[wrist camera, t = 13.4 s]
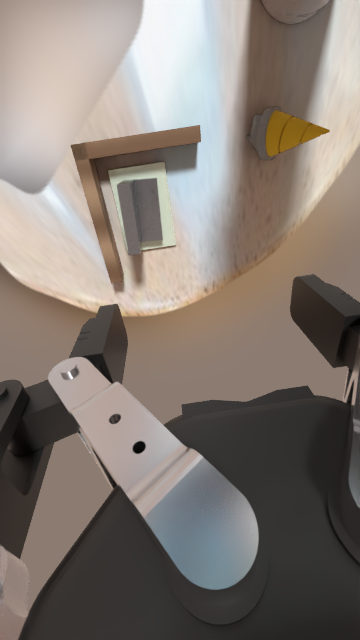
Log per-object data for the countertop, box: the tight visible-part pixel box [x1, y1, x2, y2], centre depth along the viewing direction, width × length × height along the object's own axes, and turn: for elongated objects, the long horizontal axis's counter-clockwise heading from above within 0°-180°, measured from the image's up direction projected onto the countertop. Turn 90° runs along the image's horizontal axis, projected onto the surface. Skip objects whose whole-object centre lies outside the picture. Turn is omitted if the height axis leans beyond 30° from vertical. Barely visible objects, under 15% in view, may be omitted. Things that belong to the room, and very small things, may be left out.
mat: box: [108, 162, 176, 252], centre depth 37 cm, size 11×8×1 cm
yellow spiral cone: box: [246, 106, 330, 160], centre depth 31 cm, size 5×5×10 cm
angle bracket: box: [117, 178, 163, 255], centre depth 34 cm, size 8×4×7 cm, turn 4°
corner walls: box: [71, 125, 201, 283], centre depth 36 cm, size 18×15×3 cm
